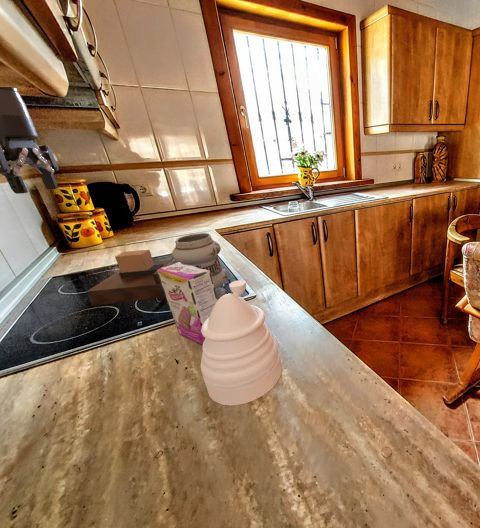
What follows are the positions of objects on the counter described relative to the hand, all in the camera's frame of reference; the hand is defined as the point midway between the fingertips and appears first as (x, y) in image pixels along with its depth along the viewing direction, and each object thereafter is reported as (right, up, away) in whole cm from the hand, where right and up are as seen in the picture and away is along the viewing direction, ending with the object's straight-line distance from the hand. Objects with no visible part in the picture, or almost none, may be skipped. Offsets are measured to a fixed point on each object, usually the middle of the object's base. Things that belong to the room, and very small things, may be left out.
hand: (37, 191), depth 66 cm
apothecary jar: (+34, -27, +14) cm, 46 cm away
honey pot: (+56, -38, -16) cm, 70 cm away
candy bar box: (+42, -34, -4) cm, 54 cm away
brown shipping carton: (+13, -20, +17) cm, 29 cm away
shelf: (+13, -26, +19) cm, 35 cm away
